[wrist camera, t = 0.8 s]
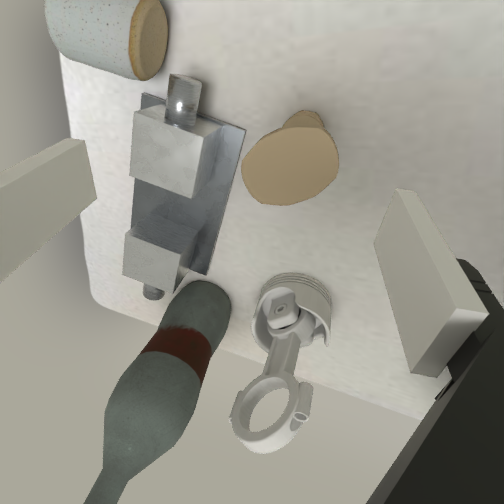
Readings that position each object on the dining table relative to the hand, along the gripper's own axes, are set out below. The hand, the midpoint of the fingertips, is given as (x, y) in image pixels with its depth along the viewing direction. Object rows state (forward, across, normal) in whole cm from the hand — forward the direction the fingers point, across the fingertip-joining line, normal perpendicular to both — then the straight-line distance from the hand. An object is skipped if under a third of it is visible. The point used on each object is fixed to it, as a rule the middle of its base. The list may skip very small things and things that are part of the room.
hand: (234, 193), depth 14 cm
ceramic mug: (+25, +15, -5) cm, 30 cm away
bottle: (+22, +6, +30) cm, 38 cm away
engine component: (+21, -6, +27) cm, 34 cm away
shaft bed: (+23, +10, +14) cm, 29 cm away
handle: (+23, -4, +3) cm, 23 cm away
